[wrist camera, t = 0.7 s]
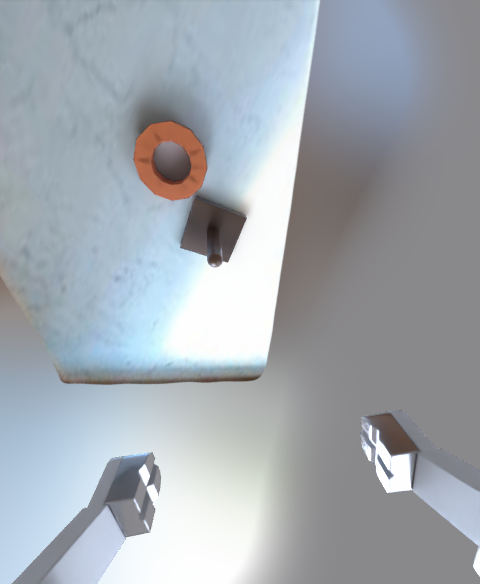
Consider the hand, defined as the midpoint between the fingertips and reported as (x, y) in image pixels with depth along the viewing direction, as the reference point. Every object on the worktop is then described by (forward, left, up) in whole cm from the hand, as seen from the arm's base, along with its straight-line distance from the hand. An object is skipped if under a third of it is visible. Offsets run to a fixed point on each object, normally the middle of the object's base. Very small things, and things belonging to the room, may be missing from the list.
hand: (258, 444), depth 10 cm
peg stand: (+7, +2, -43) cm, 43 cm away
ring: (-2, -8, -43) cm, 44 cm away
